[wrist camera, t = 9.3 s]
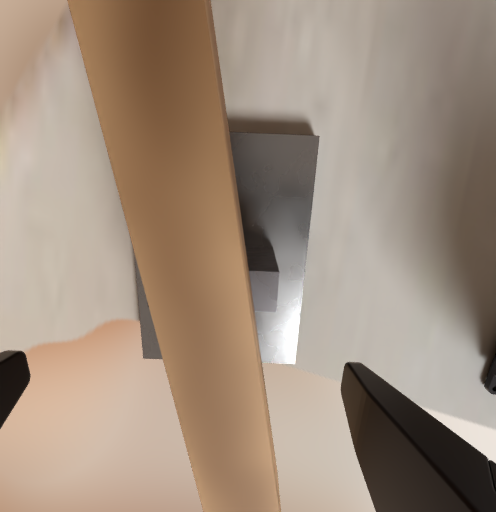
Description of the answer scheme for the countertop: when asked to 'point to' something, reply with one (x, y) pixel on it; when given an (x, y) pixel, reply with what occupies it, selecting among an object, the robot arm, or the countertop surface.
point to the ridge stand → (267, 237)
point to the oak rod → (186, 231)
